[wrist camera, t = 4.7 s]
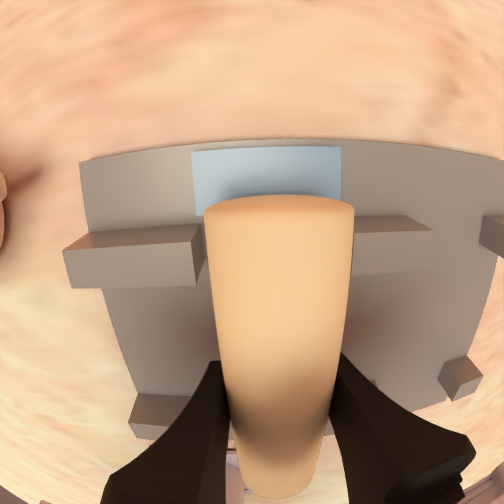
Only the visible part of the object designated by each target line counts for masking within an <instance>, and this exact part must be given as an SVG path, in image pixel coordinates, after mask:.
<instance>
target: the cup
mask: <svg viewBox="0 0 504 504" xmlns="http://www.w3.org/2000/svg"><path fill="white" fill-rule="evenodd" d="M6 195H7V187H6V182H5V178H4V176H3V174H2V173H1V172H0V248H1V245H2V241H3V236H4V210H3V204H2V201H3V200H4V199H5V197H6Z"/></svg>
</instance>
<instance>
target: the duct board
mask: <svg viewBox="0 0 504 504" xmlns="http://www.w3.org/2000/svg"><path fill="white" fill-rule="evenodd" d="M79 169H80V178H81V186H82V193H83V200H84V207H85V213H86V219H87V225H88V230H89V233H87V234H86V235H84V236H83V237H81V238H80V239H78V240H77V241H75V242H74V243H73V244H71V245H70V246H68V247H67V248H65V249H64V250H62V253H63V257H64V261H65V265H66V269H67V273H68V277H69V280H70V284H71V287H72V288H102V291H103V295H104V298H105V302H106V305H107V309H108V312H109V315H110V318H111V322H112V325H113V328H114V331H115V334H116V337H117V340H118V343H119V346H120V348H121V351H122V354H123V357H124V359H125V362H126V365H127V367H128V370H129V373H130V375H131V378H132V380H133V383H134V385H135V387H136V390H137V392H138V395H137V398H136V400H135V403H134V406H133V409H132V412H131V415H130V418H129V421H128V423H129V425H130V427H131V429H132V431H133V432H134V434H135V436H136V437H137V438H141V439H149V440H157V439H158V438H159V437H160V436H161V435H162V434H163V433H164V432H165V431H166V430H167V429H168V428H169V427H170V425H171V424H172V423H173V422H174V421H175V419H176V418H177V417H178V416H179V414H180V413H181V411H182V410H183V409H184V407H185V406H186V404H187V403H188V401H189V400H190V398H191V397H192V395H193V393H194V392H195V390H196V388H197V387H198V385H199V383H200V381H201V379H202V377H203V375H204V373H205V371H206V369H207V367H208V364H209V362H210V361H216V360H221V357H220V350H219V343H218V336H217V329H216V321H215V314H214V306H213V298H212V290H211V281H210V273H209V264H208V255H207V245H206V235H205V225H204V211H205V209H207V208H208V207H210V206H212V205H214V204H217V203H220V202H223V201H227V200H231V199H236V198H242V197H250V196H259V195H279V194H291V195H309V196H319V197H325V198H331V199H335V200H339V201H342V202H345V203H347V204H349V205H351V206H352V207H353V208H354V230H353V246H352V259H351V271H350V281H349V291H348V300H347V308H346V316H345V324H344V331H343V338H342V344H341V352H342V353H343V354H344V355H345V356H346V357H347V358H348V359H349V360H350V362H351V363H352V364H353V365H354V366H355V367H356V368H357V369H358V370H359V371H360V372H361V373H362V374H363V375H364V376H365V377H366V378H367V379H368V380H369V381H370V382H371V383H373V384H374V385H375V386H376V387H377V388H378V389H379V390H380V391H382V392H383V393H384V394H385V395H386V396H388V397H389V398H390V399H392V400H393V401H394V402H396V403H397V404H399V405H400V406H402V407H403V408H405V409H406V410H408V411H409V412H412V411H415V410H418V409H422V408H425V407H428V406H431V405H434V404H436V403H439V402H442V401H445V400H446V398H447V396H449V398H450V399H451V401H455V400H457V399H460V398H462V397H465V396H467V395H469V394H472V393H474V392H475V391H476V389H477V387H478V385H479V383H480V381H481V379H482V378H483V375H482V373H481V372H480V371H479V370H478V368H477V367H476V366H475V365H474V364H473V362H472V361H471V360H470V359H469V358H468V357H467V353H468V351H469V348H470V346H471V343H472V341H473V338H474V336H475V333H476V330H477V327H478V325H479V322H480V319H481V316H482V313H483V310H484V307H485V303H486V300H487V297H488V293H489V290H490V286H491V282H492V279H493V275H494V271H495V266H496V262H497V257H498V255H499V256H501V257H502V258H504V161H503V160H499V159H494V158H490V157H485V156H480V155H475V154H469V153H464V152H458V151H452V150H446V149H439V148H432V147H424V146H416V145H407V144H398V143H387V142H374V141H359V140H337V139H263V140H241V141H225V142H212V143H200V144H190V145H181V146H172V147H164V148H157V149H150V150H143V151H136V152H130V153H124V154H118V155H113V156H107V157H102V158H97V159H92V160H87V161H83V162H79ZM332 434H335V433H334V430H333V427H332V425H331V422H330V419H329V416H328V418H327V422H326V427H325V431H324V436H326V435H332ZM228 439H234V436H233V430H232V425H231V421H230V429H229V438H228Z"/></svg>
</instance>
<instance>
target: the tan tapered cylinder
mask: <svg viewBox="0 0 504 504" xmlns="http://www.w3.org/2000/svg"><path fill="white" fill-rule="evenodd" d="M204 225H205V235H206V245H207V255H208V264H209V273H210V281H211V290H212V298H213V306H214V314H215V321H216V329H217V336H218V343H219V350H220V357H221V364H222V370H223V377H224V383H225V389H226V395H227V402H228V407H229V413H230V419H231V425H232V430H233V436H234V441H235V446H236V452H237V457H238V462H239V467H240V472H241V477H242V480H243V482H244V484H245V485H246V486H247V487H248V488H249V489H250V490H251V491H252V492H254V493H255V494H257V495H259V496H262V497H265V498H271V499H281V498H287V497H290V496H293V495H295V494H297V493H299V492H301V491H302V490H303V489H304V488H305V487H306V486H307V485H308V484H309V482H310V481H311V479H312V476H313V473H314V469H315V466H316V462H317V458H318V455H319V451H320V447H321V443H322V439H323V435H324V431H325V427H326V422H327V418H328V414H329V409H330V404H331V400H332V395H333V390H334V385H335V379H336V374H337V368H338V363H339V357H340V351H341V344H342V338H343V331H344V324H345V316H346V308H347V300H348V291H349V281H350V271H351V259H352V246H353V230H354V208H353V207H352V206H351V205H349V204H347V203H345V202H342V201H339V200H335V199H331V198H325V197H319V196H309V195H291V194H279V195H259V196H250V197H242V198H236V199H231V200H227V201H223V202H220V203H217V204H214V205H212V206H210V207H208V208H207V209H205V211H204Z"/></svg>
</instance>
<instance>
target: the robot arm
mask: <svg viewBox="0 0 504 504" xmlns="http://www.w3.org/2000/svg"><path fill="white" fill-rule="evenodd" d="M328 416H329V419H330V422H331V425H332V427H333V430H334V433H335V436H336V439H337V442H338V445H339V449H340V452H341V456H342V461H343V466H344V471H345V477H346V483H347V489H348V497H349V504H504V462H502V463H501V464H500V465H499V466H498V467H496V468H495V469H494V470H493V471H492V472H491V474H490V475H488V476H487V477H485V478H483V479H482V480H480V481H478V482H477V483H475V484H473V485H472V486H470V487H468V488H466V489H464V490H463V489H462V487H461V485H460V483H461V482H462V477H461V475H460V473H461V472H462V471H463V470H464V469H465V468H466V467H467V466H468V465H469V464H470V463H471V462H472V460H473V459H474V457H475V455H476V451H475V449H474V447H473V445H472V443H471V442H470V440H469V439H468V437H467V436H466V435H464V434H460V433H457V432H454V431H451V430H447V429H445V428H442V427H440V426H437V425H435V424H432V423H430V422H428V421H426V420H424V419H422V418H420V417H418V416H417V415H415V414H413V413H411V412H409V411H408V410H406V409H405V408H403V407H402V406H400V405H399V404H397V403H396V402H394V401H393V400H392V399H390V398H389V397H388V396H386V395H385V394H384V393H383V392H382V391H380V390H379V389H378V388H377V387H376V386H375V385H374V384H373V383H371V382H370V381H369V380H368V379H367V378H366V377H365V376H364V375H363V374H362V373H361V372H360V371H359V370H358V369H357V368H356V367H355V366H354V365H353V364H352V363H351V362H350V360H349V359H348V358H347V357H346V356H345V355H344V354H343V353H342V352H341V351H340V357H339V363H338V368H337V374H336V379H335V385H334V390H333V395H332V400H331V404H330V409H329V414H328ZM230 421H231V419H230V413H229V407H228V402H227V395H226V389H225V383H224V377H223V370H222V364H221V360H216V361H210V362H209V364H208V367H207V369H206V371H205V373H204V375H203V377H202V379H201V381H200V383H199V385H198V387H197V388H196V390H195V392H194V393H193V395H192V397H191V398H190V400H189V401H188V403H187V404H186V406H185V407H184V409H183V410H182V411H181V413H180V414H179V416H178V417H177V418H176V419H175V421H174V422H173V423H172V424H171V425H170V427H169V428H168V429H167V430H166V431H165V432H164V433H163V434H162V435H161V436H160V437H159V438H158V439H157V440H156V441H155V442H154V443H153V444H152V445H151V446H150V447H149V448H148V449H146V450H145V451H144V452H143V453H142V454H140V455H139V456H138V457H137V458H135V459H134V460H133V461H131V462H130V463H128V464H127V465H125V466H124V467H122V468H121V469H119V470H118V471H116V472H115V473H113V474H111V475H110V477H109V479H108V481H107V483H106V485H105V488H104V491H103V495H102V498H101V502H100V504H244V494H250V493H251V490H250V489H249V488H248V487H247V486H246V485H245V484H244V482H243V480H242V477H241V472H240V467H239V462H238V457H237V452H236V451H227V447H228V438H229V429H230ZM40 504H50V503H48V502H46V501H44V500H41V501H40Z"/></svg>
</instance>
